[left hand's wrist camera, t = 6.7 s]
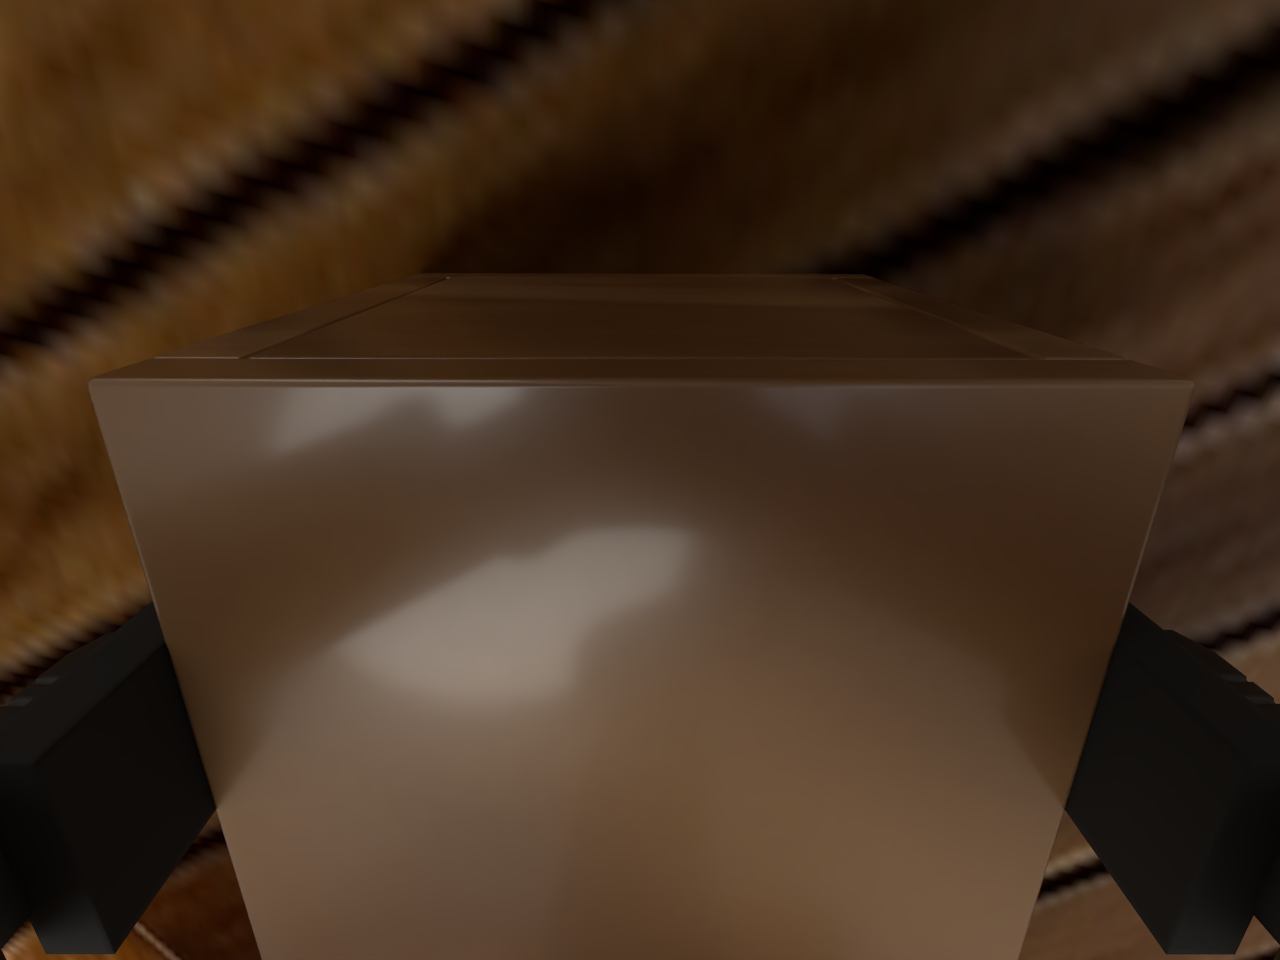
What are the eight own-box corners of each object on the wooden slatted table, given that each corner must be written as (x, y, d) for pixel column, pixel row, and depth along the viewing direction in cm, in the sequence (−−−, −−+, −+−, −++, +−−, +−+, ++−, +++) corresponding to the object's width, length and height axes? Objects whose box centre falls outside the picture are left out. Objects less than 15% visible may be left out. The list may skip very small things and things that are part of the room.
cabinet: (793, 872, 26) (901, 1345, 15) (486, 872, 26) (377, 1344, 15) (864, 273, 18) (1202, 379, 7) (417, 272, 18) (79, 378, 7)
